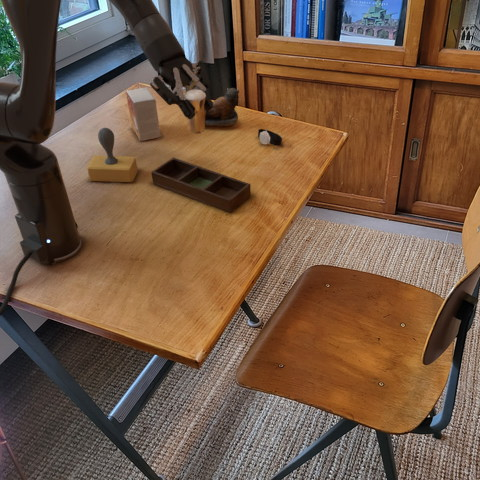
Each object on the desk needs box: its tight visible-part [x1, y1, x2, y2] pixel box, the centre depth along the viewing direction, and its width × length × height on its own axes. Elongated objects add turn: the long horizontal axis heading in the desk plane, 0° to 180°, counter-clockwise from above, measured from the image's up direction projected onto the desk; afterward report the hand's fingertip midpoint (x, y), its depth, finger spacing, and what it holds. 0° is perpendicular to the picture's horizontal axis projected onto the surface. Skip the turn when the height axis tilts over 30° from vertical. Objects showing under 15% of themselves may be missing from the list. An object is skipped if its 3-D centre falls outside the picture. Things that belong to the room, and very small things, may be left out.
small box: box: [125, 86, 162, 142], centre depth 148 cm, size 8×6×10 cm
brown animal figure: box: [205, 87, 240, 127], centre depth 152 cm, size 12×7×10 cm, turn 85°
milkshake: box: [183, 86, 206, 135], centre depth 126 cm, size 4×5×10 cm
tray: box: [150, 157, 252, 214], centre depth 130 cm, size 8×22×3 cm, turn 58°
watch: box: [257, 128, 283, 147], centre depth 146 cm, size 8×5×4 cm, turn 41°
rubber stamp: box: [86, 127, 139, 183], centre depth 131 cm, size 10×6×12 cm, turn 87°
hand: (201, 113), depth 125 cm, fingers closed on milkshake, 4 cm apart
